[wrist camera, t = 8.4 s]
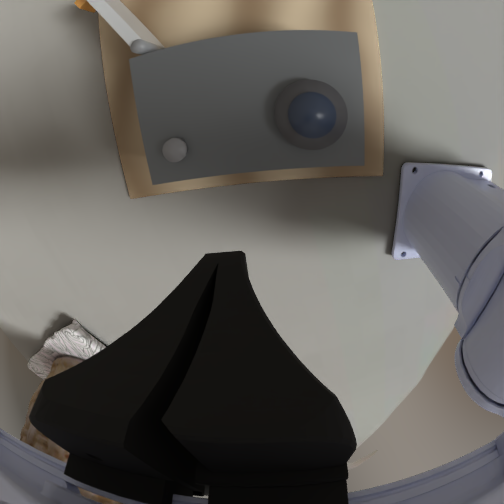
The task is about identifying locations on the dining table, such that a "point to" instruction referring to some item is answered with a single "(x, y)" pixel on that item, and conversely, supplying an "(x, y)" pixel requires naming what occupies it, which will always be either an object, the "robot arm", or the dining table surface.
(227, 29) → the wooden board
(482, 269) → the robot arm
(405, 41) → the dining table surface
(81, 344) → the cookie jar
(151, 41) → the side door
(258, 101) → the camera body
